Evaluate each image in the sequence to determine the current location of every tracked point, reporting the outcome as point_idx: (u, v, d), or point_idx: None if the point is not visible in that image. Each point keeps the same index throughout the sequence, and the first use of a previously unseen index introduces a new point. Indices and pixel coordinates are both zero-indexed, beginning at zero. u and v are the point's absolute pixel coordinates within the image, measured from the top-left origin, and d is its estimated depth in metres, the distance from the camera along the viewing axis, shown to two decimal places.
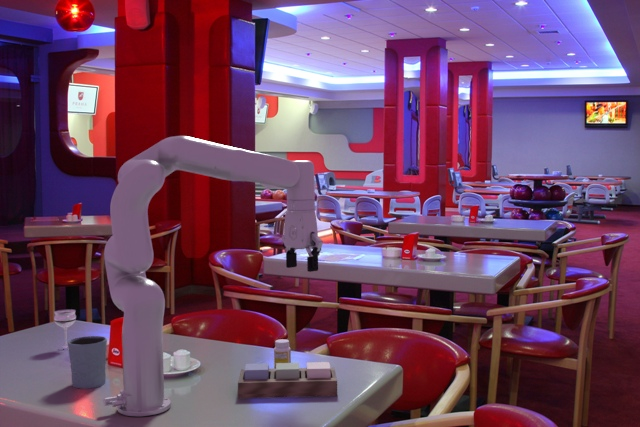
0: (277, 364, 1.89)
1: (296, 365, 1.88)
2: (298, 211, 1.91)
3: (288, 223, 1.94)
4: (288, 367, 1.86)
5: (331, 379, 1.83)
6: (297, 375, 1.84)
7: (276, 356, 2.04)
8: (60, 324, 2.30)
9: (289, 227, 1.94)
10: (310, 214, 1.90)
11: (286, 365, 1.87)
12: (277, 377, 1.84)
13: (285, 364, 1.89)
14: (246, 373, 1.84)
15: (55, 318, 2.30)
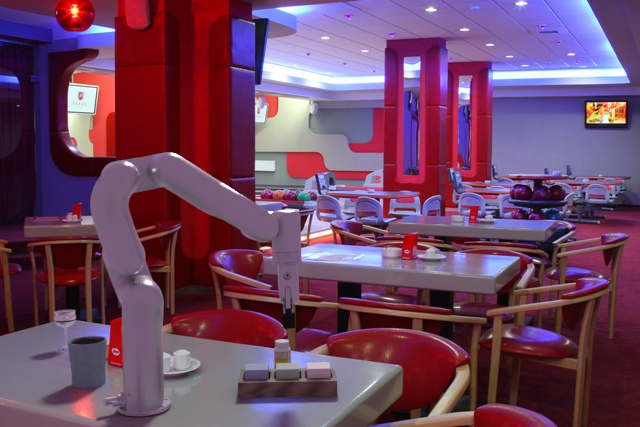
0: (277, 364, 1.89)
1: (296, 365, 1.88)
2: None
3: None
4: (288, 367, 1.86)
5: (331, 379, 1.83)
6: (297, 375, 1.84)
7: (276, 356, 2.04)
8: (60, 324, 2.30)
9: (298, 280, 1.84)
10: None
11: (286, 365, 1.87)
12: (277, 377, 1.84)
13: (285, 364, 1.89)
14: (246, 373, 1.84)
15: (55, 318, 2.30)
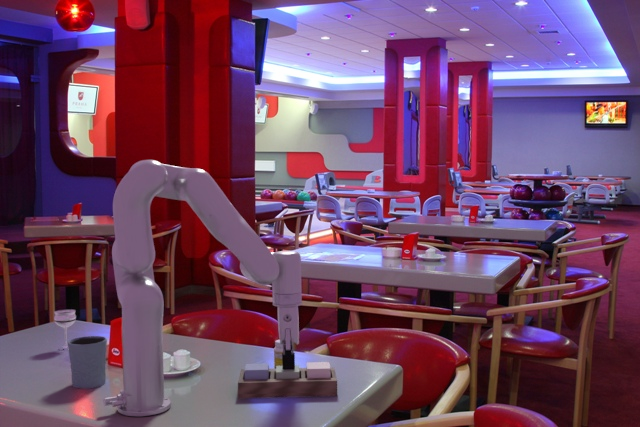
0: (277, 366, 1.89)
1: (296, 367, 1.88)
2: None
3: (298, 317, 1.84)
4: (288, 370, 1.86)
5: (331, 379, 1.83)
6: (297, 378, 1.84)
7: (276, 356, 2.04)
8: (60, 324, 2.30)
9: (298, 321, 1.85)
10: None
11: None
12: None
13: None
14: (246, 373, 1.84)
15: (55, 318, 2.30)
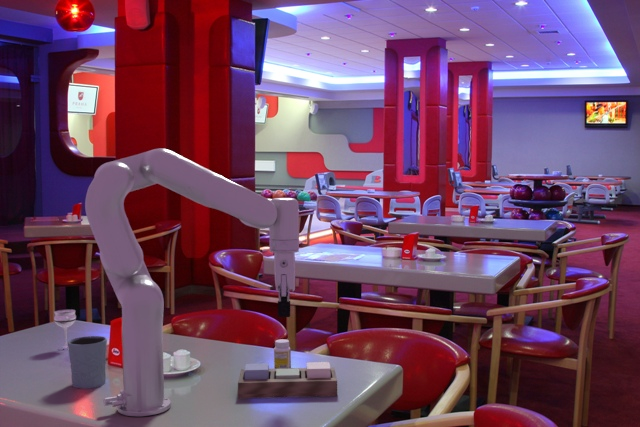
0: (277, 370, 1.89)
1: (296, 371, 1.88)
2: None
3: (294, 264, 1.83)
4: (288, 373, 1.86)
5: (331, 379, 1.83)
6: None
7: (276, 356, 2.04)
8: (60, 324, 2.30)
9: None
10: None
11: (286, 371, 1.87)
12: None
13: (285, 370, 1.89)
14: (246, 373, 1.84)
15: (55, 318, 2.30)
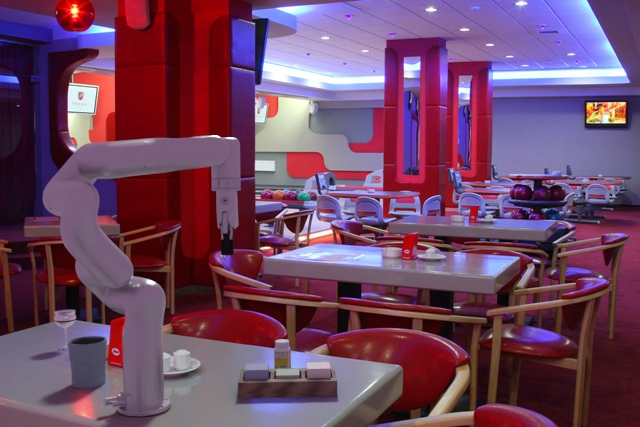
0: (277, 370, 1.89)
1: (296, 371, 1.88)
2: None
3: (236, 202, 1.86)
4: (288, 373, 1.86)
5: (331, 379, 1.83)
6: None
7: (276, 356, 2.04)
8: (60, 324, 2.30)
9: (236, 207, 1.87)
10: None
11: (286, 371, 1.87)
12: None
13: (285, 370, 1.89)
14: (246, 373, 1.84)
15: (55, 318, 2.30)
